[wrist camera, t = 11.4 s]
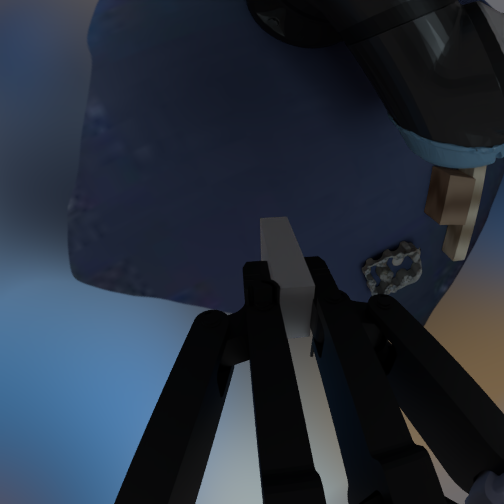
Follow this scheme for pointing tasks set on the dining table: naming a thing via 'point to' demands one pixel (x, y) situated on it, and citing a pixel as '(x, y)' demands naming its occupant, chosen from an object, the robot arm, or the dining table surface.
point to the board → (461, 234)
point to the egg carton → (386, 274)
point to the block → (449, 196)
